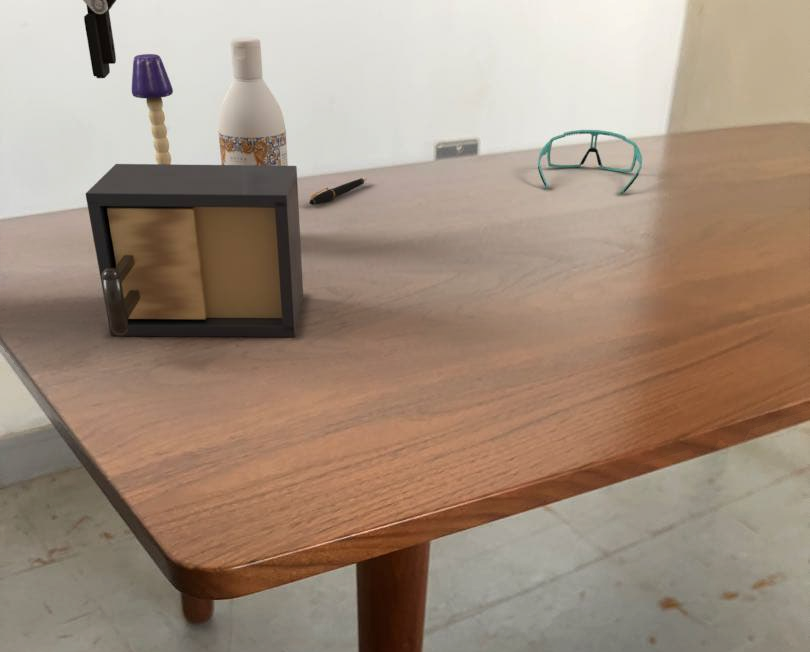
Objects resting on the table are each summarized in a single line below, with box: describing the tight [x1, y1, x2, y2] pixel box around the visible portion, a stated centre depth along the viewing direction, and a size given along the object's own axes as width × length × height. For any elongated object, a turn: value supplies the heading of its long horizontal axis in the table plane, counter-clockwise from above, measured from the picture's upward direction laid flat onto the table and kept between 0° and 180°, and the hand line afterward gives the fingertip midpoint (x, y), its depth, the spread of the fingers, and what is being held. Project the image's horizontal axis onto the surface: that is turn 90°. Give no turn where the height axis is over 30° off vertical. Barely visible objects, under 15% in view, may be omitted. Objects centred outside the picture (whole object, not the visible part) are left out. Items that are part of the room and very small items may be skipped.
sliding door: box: [102, 206, 207, 335], centre depth 75 cm, size 7×7×9 cm
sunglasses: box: [537, 129, 643, 195], centre depth 127 cm, size 14×15×5 cm
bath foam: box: [217, 36, 289, 166], centre depth 96 cm, size 7×7×20 cm
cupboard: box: [85, 163, 304, 338], centre depth 81 cm, size 16×10×12 cm, turn 91°
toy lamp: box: [131, 53, 174, 164], centre depth 109 cm, size 5×5×17 cm
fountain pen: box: [308, 177, 368, 206], centre depth 118 cm, size 14×1×2 cm, turn 152°
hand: (33, 75), depth 66 cm, fingers open, 9 cm apart
